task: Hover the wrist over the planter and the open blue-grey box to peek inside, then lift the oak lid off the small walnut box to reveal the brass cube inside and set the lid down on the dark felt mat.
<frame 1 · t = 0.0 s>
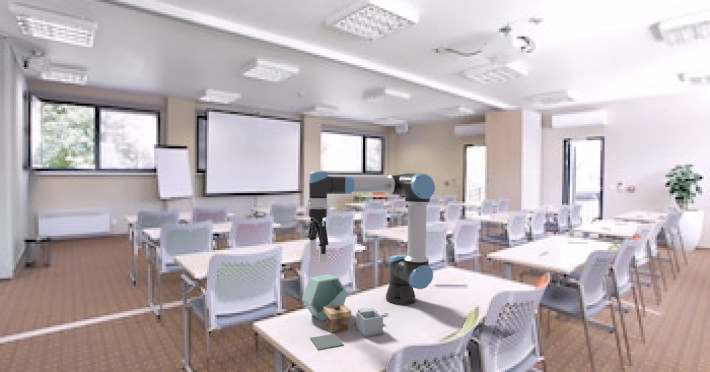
hand: (317, 258, 155), 28 cm above the table, fingers open, 13 cm apart
planter: (324, 316, 164), on the table
lid: (336, 314, 151), point 6 cm above the table, touching walnut box
blue-grey box: (369, 331, 148), on the table
walnut box: (336, 328, 151), on the table
tipped cup: (367, 321, 159), on the table
felt mat: (326, 341, 138), on the table
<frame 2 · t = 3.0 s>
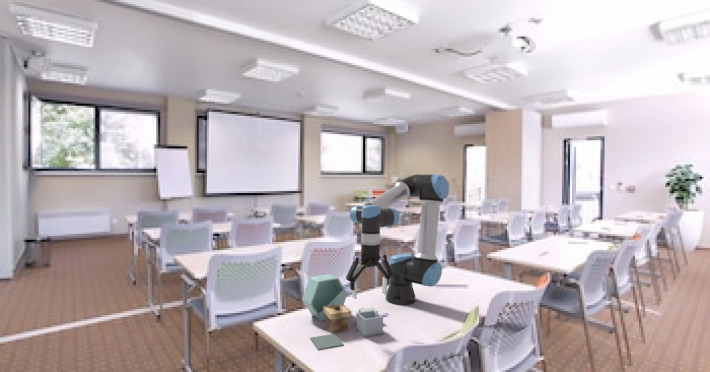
hand: (369, 295, 147), 15 cm above the table, fingers open, 13 cm apart
nothing on the table moved.
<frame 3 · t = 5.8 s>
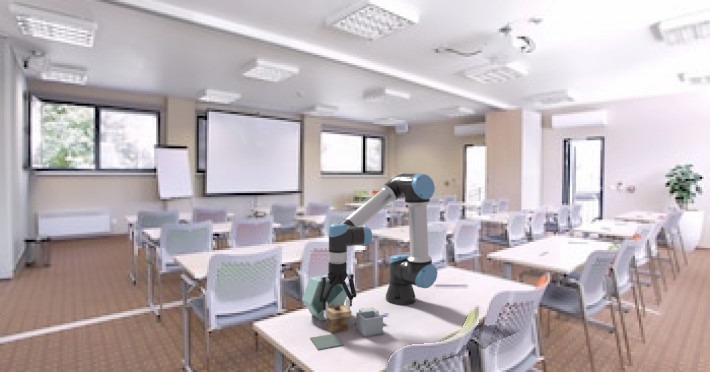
hand: (336, 315, 151), 5 cm above the table, fingers closed on lid, 9 cm apart
lid: (336, 314, 151), point 6 cm above the table, touching gripper, walnut box
everything else where it was.
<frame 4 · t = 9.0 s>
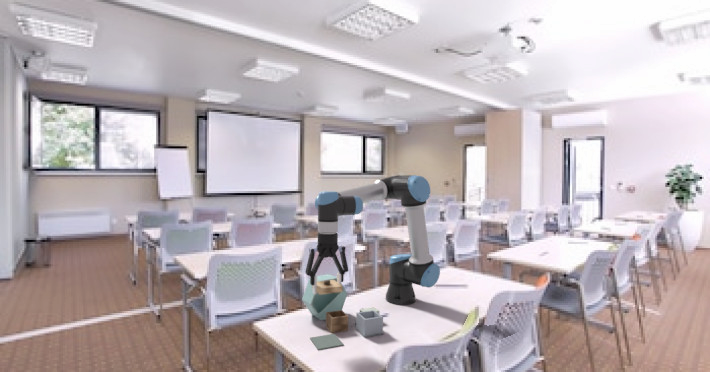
hand: (326, 291, 138), 19 cm above the table, fingers closed on lid, 9 cm apart
lid: (326, 289, 138), point 20 cm above the table, touching gripper
everything else where it was.
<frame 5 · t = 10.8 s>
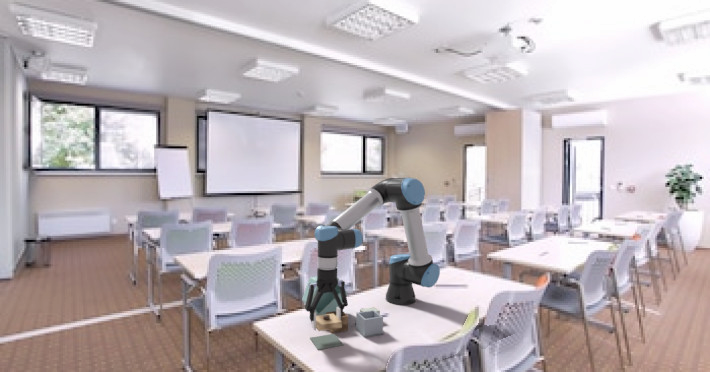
hand: (326, 326, 138), 6 cm above the table, fingers closed on lid, 9 cm apart
lid: (326, 324, 138), point 7 cm above the table, touching gripper
when the fingers open (2 cm above the table, at t = 12.4 s): lid drops 2 cm, resting on felt mat.
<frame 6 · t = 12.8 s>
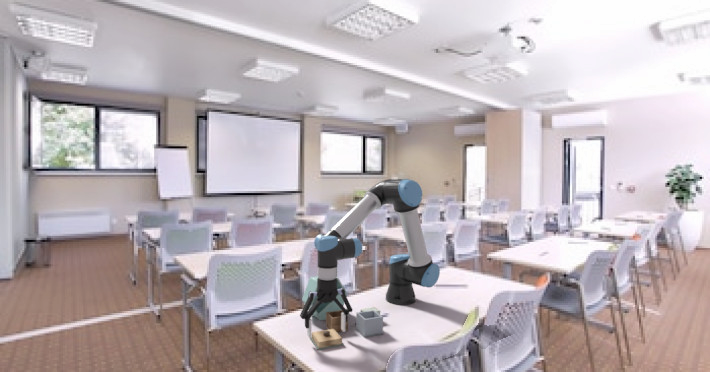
hand: (326, 333, 138), 3 cm above the table, fingers open, 13 cm apart
lid: (326, 340, 138), resting on felt mat
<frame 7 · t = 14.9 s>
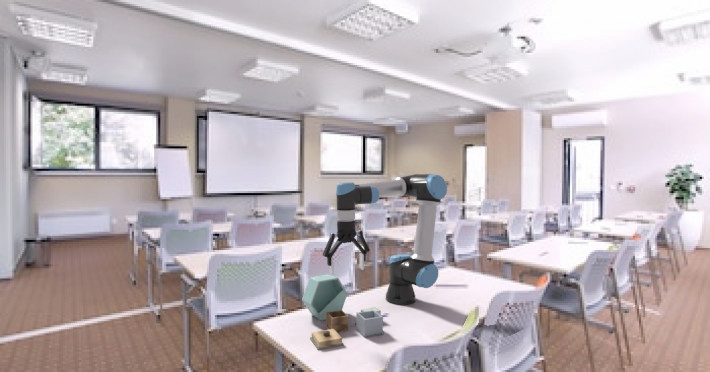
hand: (347, 271, 151), 24 cm above the table, fingers open, 13 cm apart
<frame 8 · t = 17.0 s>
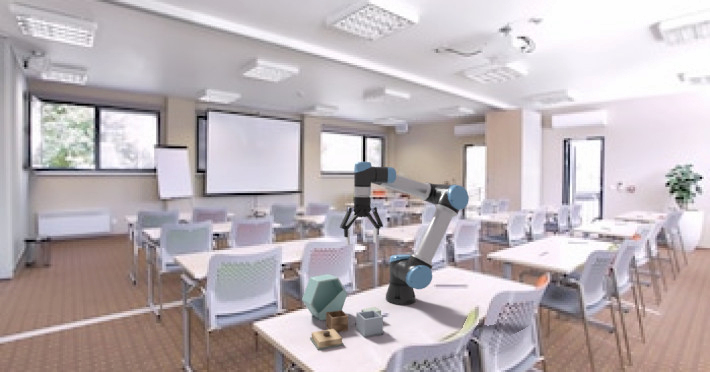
hand: (361, 243, 164), 33 cm above the table, fingers open, 13 cm apart
at the end: lid inside the target area on the felt mat (0.0 cm from its centre), point 0.4 cm above the felt mat's base; lid touching felt mat; lid tilted 0° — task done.
